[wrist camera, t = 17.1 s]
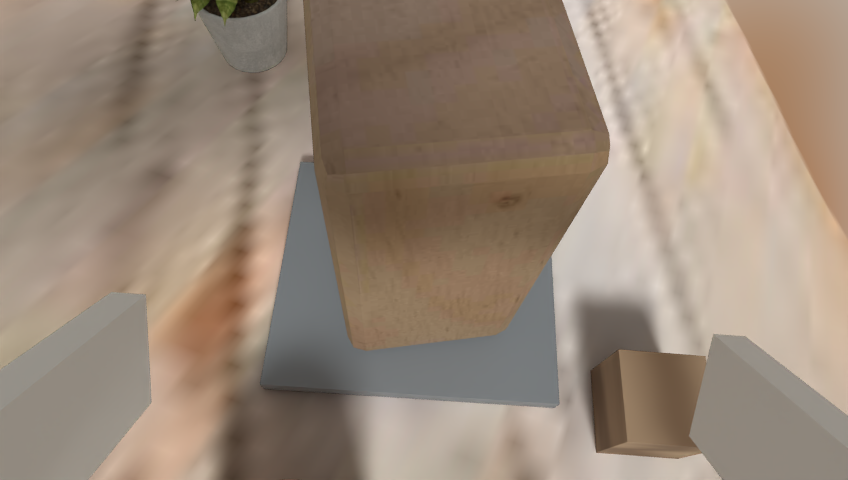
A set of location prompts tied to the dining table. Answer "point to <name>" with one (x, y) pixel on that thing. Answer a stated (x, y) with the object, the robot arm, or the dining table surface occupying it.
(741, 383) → the robot arm
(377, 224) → the wooden block
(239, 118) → the dining table surface
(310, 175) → the slate grey board
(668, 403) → the walnut cube
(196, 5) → the house plant
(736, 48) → the dining table surface
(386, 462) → the dining table surface
